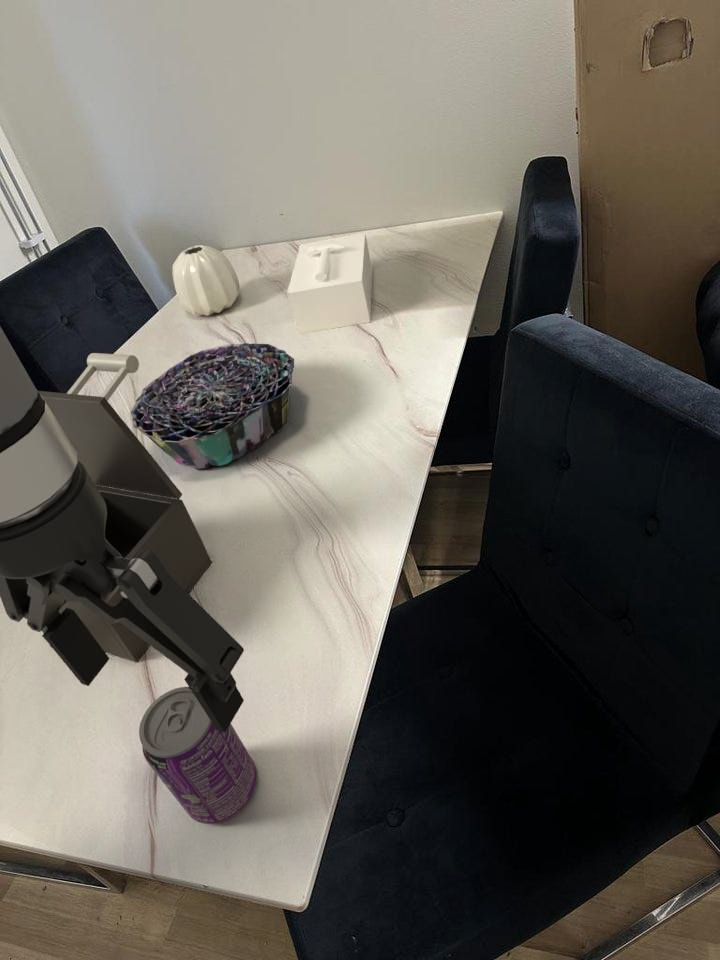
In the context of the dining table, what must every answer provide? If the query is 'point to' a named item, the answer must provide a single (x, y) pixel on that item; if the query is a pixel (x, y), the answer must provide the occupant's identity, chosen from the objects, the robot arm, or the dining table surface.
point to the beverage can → (197, 757)
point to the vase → (204, 280)
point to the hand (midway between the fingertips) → (159, 692)
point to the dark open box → (129, 531)
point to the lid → (108, 433)
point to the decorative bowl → (217, 403)
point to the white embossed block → (331, 284)
